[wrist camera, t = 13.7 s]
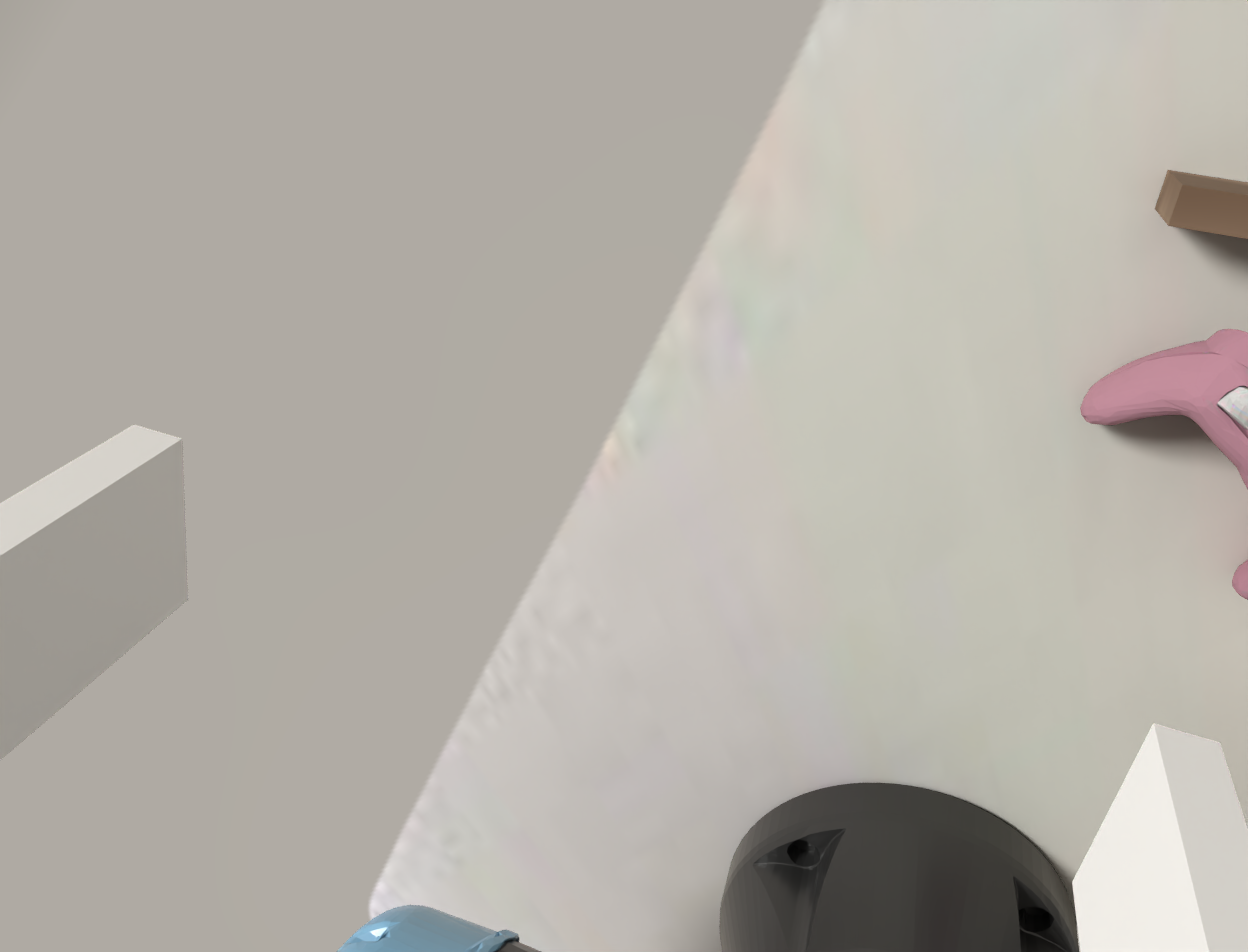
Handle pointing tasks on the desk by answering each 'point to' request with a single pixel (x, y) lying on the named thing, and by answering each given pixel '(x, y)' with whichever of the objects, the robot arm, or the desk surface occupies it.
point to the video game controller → (1186, 397)
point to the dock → (1204, 204)
